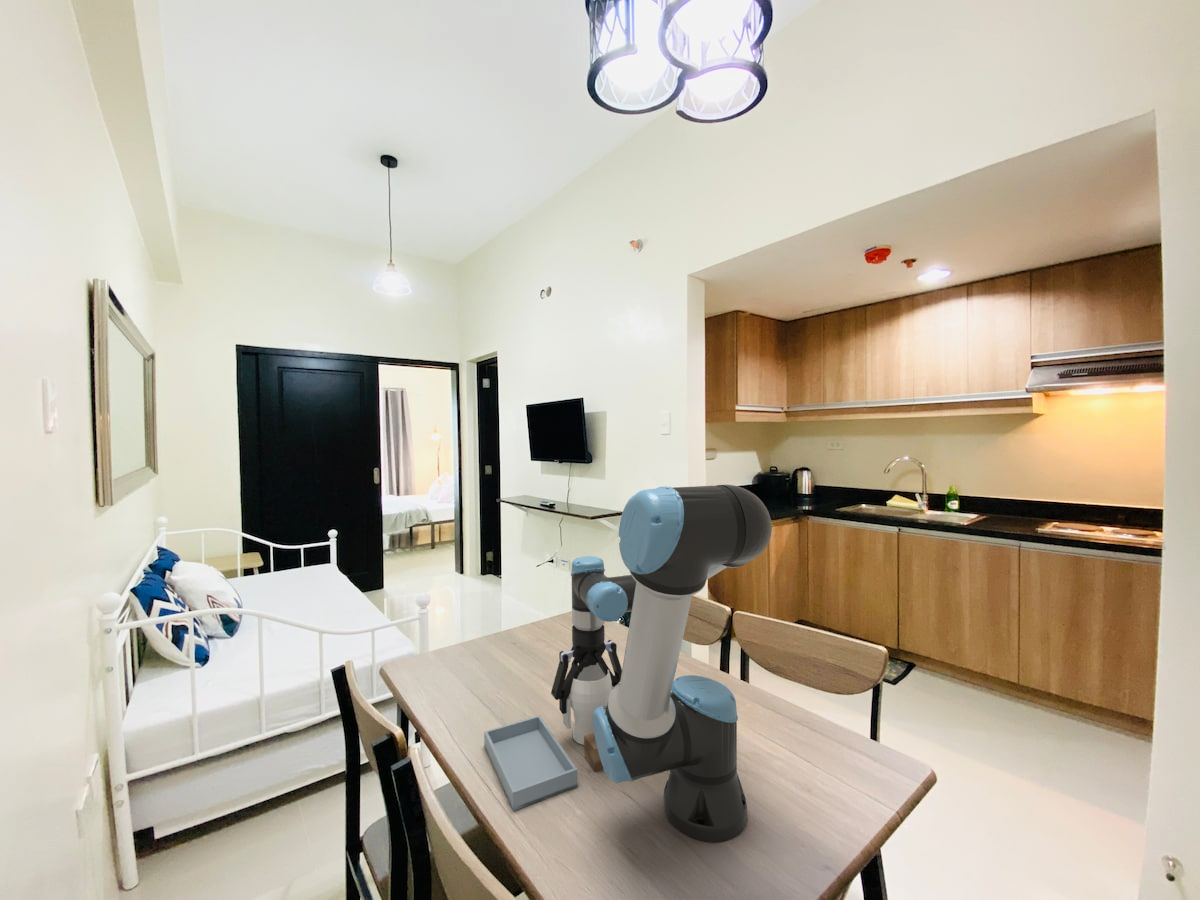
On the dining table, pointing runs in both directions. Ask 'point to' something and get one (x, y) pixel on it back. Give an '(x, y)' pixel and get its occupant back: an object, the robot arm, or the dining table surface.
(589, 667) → the cup
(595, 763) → the walnut cube
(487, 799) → the dining table surface
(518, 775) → the tray
